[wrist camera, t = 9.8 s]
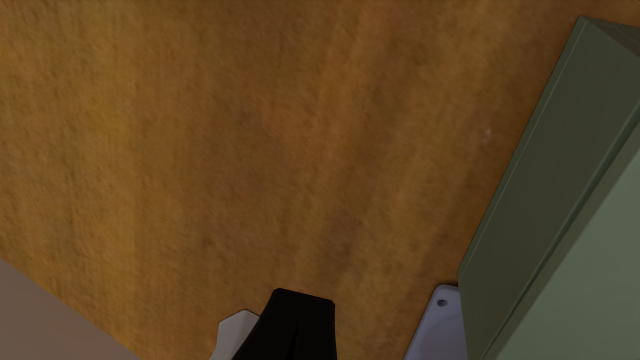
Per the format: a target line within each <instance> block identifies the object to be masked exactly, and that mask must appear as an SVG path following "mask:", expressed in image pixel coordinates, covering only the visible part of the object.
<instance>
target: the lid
mask: <svg viewBox="0 0 640 360" xmlns="http://www.w3.org/2000/svg"><path fill="white" fill-rule="evenodd" d="M483 360H640V121H639V122H638V124H637V125H636V127H635V128H634V130H633V132H632V133H631V135H630V136H629V138H628V139H627V141H626V142H625V144H624V145H623V147H622V148H621V150H620V151H619V153H618V154H617V156H616V157H615V159H614V161H613V162H612V164H611V165H610V167H609V168H608V170H607V171H606V173H605V174H604V176H603V177H602V179H601V180H600V182H599V183H598V185H597V186H596V188H595V190H594V191H593V193H592V194H591V196H590V197H589V199H588V200H587V202H586V203H585V205H584V206H583V208H582V209H581V211H580V212H579V214H578V215H577V217H576V219H575V220H574V222H573V223H572V225H571V226H570V228H569V229H568V231H567V232H566V234H565V235H564V237H563V238H562V240H561V241H560V243H559V244H558V246H557V248H556V249H555V251H554V252H553V254H552V255H551V257H550V258H549V260H548V261H547V263H546V264H545V266H544V267H543V269H542V270H541V272H540V273H539V275H538V276H537V278H536V280H535V281H534V283H533V284H532V286H531V287H530V289H529V290H528V292H527V293H526V295H525V296H524V298H523V299H522V301H521V302H520V304H519V305H518V307H517V309H516V310H515V312H514V313H513V315H512V316H511V318H510V319H509V321H508V322H507V324H506V325H505V327H504V328H503V330H502V331H501V333H500V334H499V336H498V338H497V339H496V341H495V342H494V344H493V345H492V347H491V348H490V350H489V351H488V353H487V354H486V356H485V357H484V359H483Z"/></svg>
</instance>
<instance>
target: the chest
mask: <svg viewBox="0 0 640 360" xmlns="http://www.w3.org/2000/svg"><path fill="white" fill-rule="evenodd" d="M639 121H640V28H637V27H633V26H628V25H623V24H619V23H614V22H609V21H605V20H600V19H595V18H590V17H586V16H580V17H579V18H578V20H577V22H576V25H575V27H574V29H573V31H572V33H571V35H570V37H569V39H568V41H567V43H566V45H565V48H564V50H563V52H562V54H561V56H560V58H559V60H558V62H557V64H556V66H555V68H554V71H553V73H552V75H551V77H550V79H549V81H548V83H547V85H546V87H545V89H544V91H543V94H542V96H541V98H540V100H539V102H538V104H537V106H536V108H535V110H534V112H533V114H532V116H531V119H530V121H529V123H528V125H527V127H526V129H525V131H524V133H523V135H522V137H521V139H520V142H519V144H518V146H517V148H516V150H515V152H514V154H513V156H512V158H511V160H510V162H509V165H508V167H507V169H506V171H505V173H504V175H503V177H502V179H501V181H500V183H499V185H498V188H497V190H496V192H495V194H494V196H493V198H492V200H491V202H490V204H489V206H488V208H487V210H486V213H485V215H484V217H483V219H482V221H481V223H480V225H479V227H478V229H477V231H476V233H475V236H474V238H473V240H472V242H471V244H470V246H469V248H468V250H467V252H466V254H465V256H464V259H463V261H462V263H461V265H460V267H459V269H458V271H457V278H458V283H459V284H458V286H459V293H460V301H461V309H462V316H463V324H464V332H465V339H466V347H467V354H468V360H483V359H484V357H485V356H486V354H487V353H488V351H489V350H490V348H491V347H492V345H493V344H494V342H495V341H496V339H497V338H498V336H499V334H500V333H501V331H502V330H503V328H504V327H505V325H506V324H507V322H508V321H509V319H510V318H511V316H512V315H513V313H514V312H515V310H516V309H517V307H518V305H519V304H520V302H521V301H522V299H523V298H524V296H525V295H526V293H527V292H528V290H529V289H530V287H531V286H532V284H533V283H534V281H535V280H536V278H537V276H538V275H539V273H540V272H541V270H542V269H543V267H544V266H545V264H546V263H547V261H548V260H549V258H550V257H551V255H552V254H553V252H554V251H555V249H556V248H557V246H558V244H559V243H560V241H561V240H562V238H563V237H564V235H565V234H566V232H567V231H568V229H569V228H570V226H571V225H572V223H573V222H574V220H575V219H576V217H577V215H578V214H579V212H580V211H581V209H582V208H583V206H584V205H585V203H586V202H587V200H588V199H589V197H590V196H591V194H592V193H593V191H594V190H595V188H596V186H597V185H598V183H599V182H600V180H601V179H602V177H603V176H604V174H605V173H606V171H607V170H608V168H609V167H610V165H611V164H612V162H613V161H614V159H615V157H616V156H617V154H618V153H619V151H620V150H621V148H622V147H623V145H624V144H625V142H626V141H627V139H628V138H629V136H630V135H631V133H632V132H633V130H634V128H635V127H636V125H637V124H638V122H639Z"/></svg>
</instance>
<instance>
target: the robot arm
mask: <svg viewBox="0 0 640 360" xmlns="http://www.w3.org/2000/svg"><path fill="white" fill-rule="evenodd" d="M439 300H444V301H439ZM231 360H337V351H336V340H335V304H334V303H333V301H332V300H329V299H324V298H320V297H316V296H312V295H308V294H303V293H299V292H295V291H291V290H287V289H283V288H277V289H275V290H273V293H272V295H271V297H270V299H269V301H268V303H267V305H266V307H265V309H264V311H263V312H262V314H261V316H260V317H259V319H258V321H257V322H256V324H255V325H254V327H253V329H252V330H251V332H250V333H249V335H248V336H247V338H246V339H245V341H244V342H243V343H242V345H241V346H240V348H239V349H238V350H237V352H236V353H235V355H234V356H233V357H232V359H231ZM403 360H468V354H467V347H466V339H465V332H464V324H463V316H462V309H461V301H460V293H459V287H455V286H451V285H446V284H443V285H439V286H438V287H436V289H435V291H434V293H433V295H432V297H431V299H430V302H429V304H428V306H427V308H426V310H425V313H424V315H423V317H422V319H421V321H420V324H419V326H418V328H417V330H416V332H415V335H414V337H413V339H412V341H411V343H410V346H409V348H408V350H407V352H406V354H405V357H404V359H403Z"/></svg>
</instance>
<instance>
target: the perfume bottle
mask: <svg viewBox="0 0 640 360" xmlns="http://www.w3.org/2000/svg"><path fill="white" fill-rule="evenodd" d="M258 319H259V316H257V315H255V314H253V313H251V312H249V311H247V310H243V311H240V312H239V313H237V314H235V315H233V316H231V317H229V318H227V319H225V320H223V321H221V322H220V323H219V328H218V337H217V346H216V348H215V350H214V352H213V354H212V356H211V358H210V360H231V359H232V357H233V356H234V355H235V353H236V352H237V350H238V349H239V348H240V346H241V345H242V343H243V342H244V341H245V339H246V338H247V336H248V335H249V333H250V332H251V330H252V329H253V327H254V325H255V324H256V322H257V321H258Z"/></svg>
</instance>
